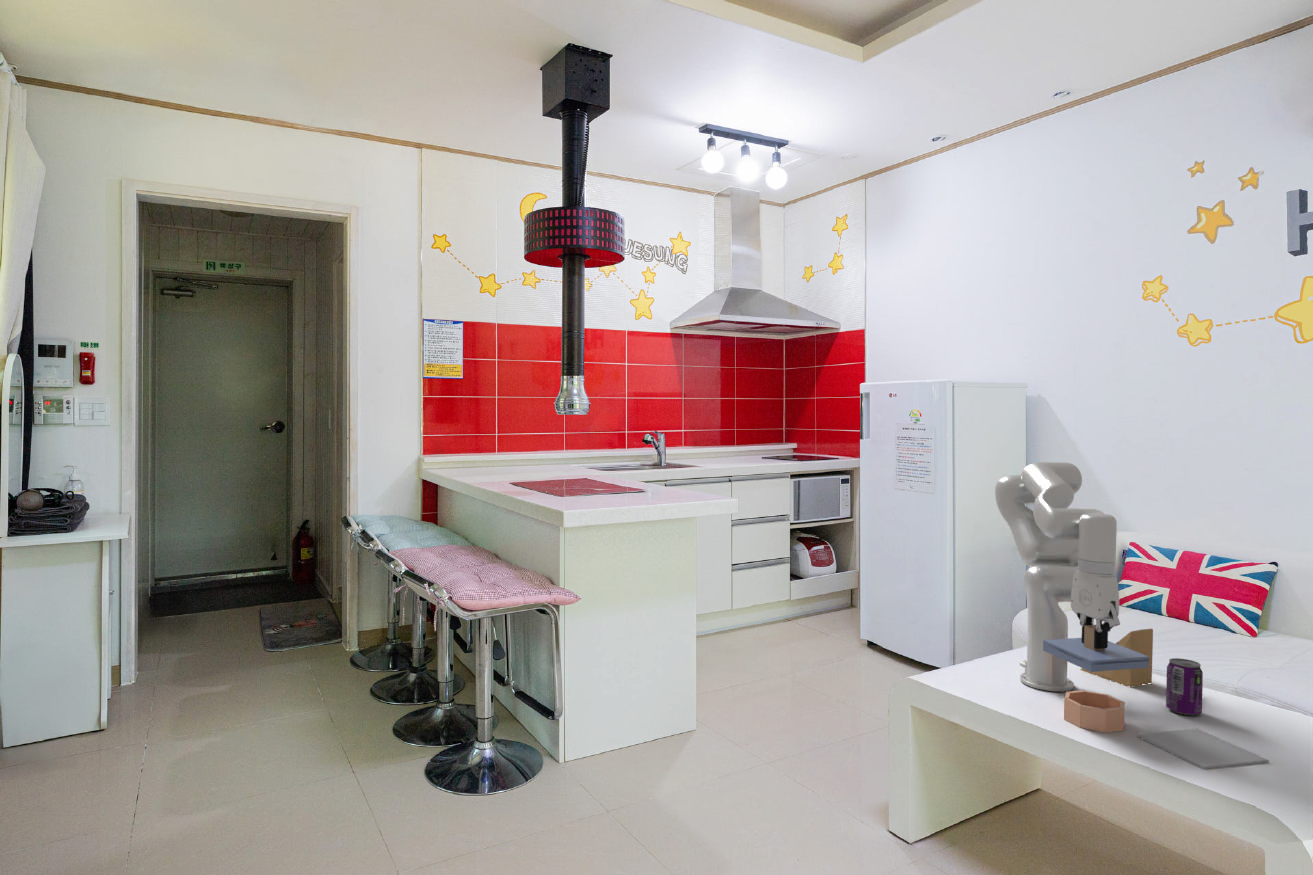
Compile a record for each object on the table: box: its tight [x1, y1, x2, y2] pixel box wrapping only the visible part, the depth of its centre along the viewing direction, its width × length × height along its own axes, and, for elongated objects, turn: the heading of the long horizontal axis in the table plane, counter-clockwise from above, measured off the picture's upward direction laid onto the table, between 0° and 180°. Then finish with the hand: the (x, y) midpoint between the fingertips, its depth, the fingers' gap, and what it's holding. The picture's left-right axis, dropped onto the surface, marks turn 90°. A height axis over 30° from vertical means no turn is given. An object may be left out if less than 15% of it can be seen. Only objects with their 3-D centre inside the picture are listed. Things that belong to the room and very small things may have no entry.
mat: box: [1136, 728, 1270, 770], centre depth 159 cm, size 16×16×1 cm
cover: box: [1043, 624, 1149, 672], centre depth 174 cm, size 15×15×8 cm
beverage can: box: [1165, 657, 1204, 717], centre depth 180 cm, size 7×7×12 cm
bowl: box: [1063, 689, 1126, 733], centre depth 174 cm, size 12×12×5 cm
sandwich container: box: [1079, 628, 1154, 688], centre depth 205 cm, size 9×15×15 cm, turn 21°
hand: (1094, 644), depth 174 cm, fingers closed on cover, 3 cm apart
